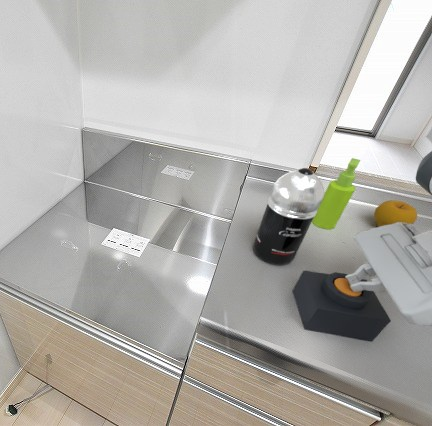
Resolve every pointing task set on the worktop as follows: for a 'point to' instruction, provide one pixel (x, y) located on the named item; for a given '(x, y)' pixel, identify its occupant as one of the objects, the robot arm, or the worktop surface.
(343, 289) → the orange disc
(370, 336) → the button base
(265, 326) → the worktop surface
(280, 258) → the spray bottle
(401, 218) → the apple
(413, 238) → the robot arm
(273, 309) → the worktop surface
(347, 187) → the soap dispenser
